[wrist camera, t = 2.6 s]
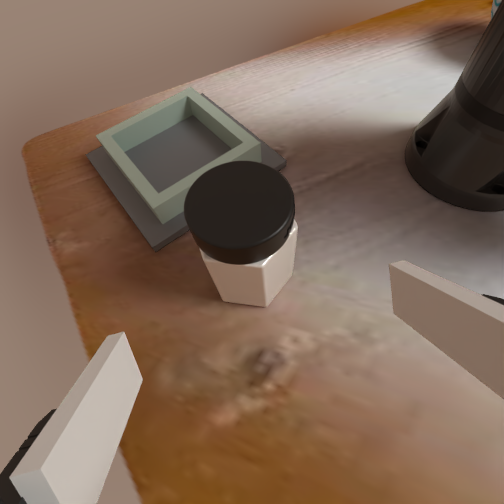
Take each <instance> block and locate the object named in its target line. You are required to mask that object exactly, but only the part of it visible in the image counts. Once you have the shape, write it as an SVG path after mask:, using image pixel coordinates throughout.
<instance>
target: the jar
mask: <svg viewBox="0 0 504 504" xmlns="http://www.w3.org/2000/svg"><path fill="white" fill-rule="evenodd" d="M294 215H295V204H294V194H293V191H292V188H291V186H290V184H289V182H288V181H287V179H286V178H285V177H284V176H283V175H282V174H281V173H280V172H278V171H277V170H275V169H274V168H272V167H270V166H268V165H266V164H263V163H259V162H254V161H232V162H227V163H223V164H220V165H218V166H215V167H213V168H211V169H209V170H208V171H206V172H205V173H203V174H202V175H201V176H200V177H199V178H197V179H196V181H195V182H194V183H193V184H192V185H191V187H190V189H189V190H188V192H187V195H186V197H185V201H184V216H185V220H186V223H187V225H188V227H189V229H190V231H191V233H192V235H193V238H194V240H195V242H196V243H197V245H198V246H199V249H200V252H201V255H202V258H203V261H204V263H205V265H206V267H207V269H208V271H209V273H210V275H211V277H212V279H213V282H214V284H215V286H216V288H217V290H218V292H219V294H220V296H221V298H222V300H223V301H224V302H231V303H239V304H246V305H254V306H261V307H267V306H268V305H269V304H270V303H271V301H272V300H273V299H274V298H275V296H276V295H277V294H278V293H279V291H280V290H281V289H282V288H283V286H284V285H285V284H286V283H287V281H288V280H289V279H290V278H291V277H292V275H293V268H294V259H295V250H296V241H297V233H298V225H297V223H296V221H295V219H294Z"/></svg>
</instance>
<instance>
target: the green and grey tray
mask: <svg viewBox="0 0 504 504" xmlns="http://www.w3.org/2000/svg"><path fill="white" fill-rule="evenodd" d="M96 137H97V139H98V140H99V142H100V143H101V145H102V146H101V147H99V148H97V149H95V150H93V151H91V152H90V153H88V154H86V156H87V157H88V159H89V160H90V162H91V163H92V164H93V166H94V167H95V169H96V170H97V171H98V173H99V174H100V176H101V177H102V178H103V180H104V181H105V183H106V184H107V185H108V187H109V188H110V190H111V191H112V192H113V194H114V195H115V197H116V198H117V199H118V201H119V202H120V203H121V205H122V206H123V208H124V209H125V210H126V212H127V213H128V215H129V216H130V217H131V219H132V220H133V222H134V223H135V224H136V226H137V227H138V229H139V230H140V231H141V233H142V234H143V236H144V237H145V238H146V240H147V241H148V243H149V244H150V245H151V247H152V248H153V249H154V251H155V252H156V251H158V250H159V249H161V248H162V247H164V246H165V245H167V244H168V243H170V242H172V241H173V240H175V239H176V238H178V237H179V236H181V235H182V234H184V233H185V232H187V231H188V230H190V229H189V227H188V225H187V223H186V220H185V216H184V201H185V197H186V195H187V192H188V190H189V189H190V187H191V185H192V184H193V183H194V182H195V181H196V179H197V178H199V177H200V176H201V175H202V174H203V173H205V172H206V171H208V170H209V169H211V168H213V167H215V166H218V165H220V164H223V163H227V162H232V161H254V162H259V163H263V164H266V165H268V166H270V167H272V168H274V169H275V170H277V171H279V170H281V169H282V168H284V167H285V166H286V160H285V159H284V158H283V157H282V156H280V155H279V154H278V153H277V152H275V151H274V150H273V149H272V148H270V147H269V146H268V145H267V144H265V143H264V142H263V141H262V140H260V139H259V138H258V137H257V136H255V135H254V134H253V133H252V132H250V131H249V130H248V129H247V128H245V127H244V126H243V125H242V124H240V123H239V122H238V121H237V120H235V119H234V118H233V117H232V116H230V115H229V114H228V113H226V112H225V111H224V110H223V109H221V108H220V107H219V106H218V105H216V104H215V103H214V102H213V101H211V100H210V99H209V98H208V97H206V96H205V95H204V94H203V93H202V94H199V93H198V92H197V91H195V90H194V89H193V88H192V87H189V88H187V89H186V90H184V91H182V92H180V93H178V94H176V95H174V96H172V97H170V98H168V99H166V100H164V101H162V102H160V103H158V104H156V105H154V106H152V107H150V108H149V109H147V110H145V111H143V112H141V113H139V114H137V115H135V116H133V117H131V118H129V119H127V120H125V121H123V122H121V123H119V124H117V125H115V126H113V127H111V128H110V129H108V130H106V131H104V132H102V133H100V134H98V135H96Z"/></svg>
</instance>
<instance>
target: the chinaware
mask: <svg viewBox="0 0 504 504" xmlns="http://www.w3.org/2000/svg"><path fill="white" fill-rule="evenodd" d="M501 1H502V0H493V5H492V11H491V19H492V18H493V16H494V14H495V12H496V10H497V8H498V7H499V5H500V3H501Z"/></svg>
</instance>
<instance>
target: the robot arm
mask: <svg viewBox="0 0 504 504" xmlns="http://www.w3.org/2000/svg"><path fill="white" fill-rule="evenodd" d="M405 160H406V164H407V167H408V169H409V171H410V173H411V175H412V176H413V177H414V179H415V180H416V181H417V182H418V183H419V184H420V185H421V186H422V187H423V188H424V189H426V190H427V191H428V192H430V193H431V194H433V195H434V196H436V197H438V198H440V199H442V200H444V201H446V202H448V203H451V204H454V205H456V206H460V207H463V208H468V209H473V210H481V211H499V210H504V0H502V1H501V3H500V5H499V7H498V8H497V10H496V12H495V14H494V16H493V18H492V19H491V21H490V23H489V25H488V27H487V29H486V31H485V32H484V34H483V36H482V38H481V40H480V41H479V43H478V45H477V47H476V49H475V50H474V52H473V54H472V56H471V58H470V59H469V61H468V63H467V65H466V66H465V68H464V70H463V72H462V74H461V76H460V78H459V80H458V81H457V83H456V85H455V87H454V88H453V89H452V90H451V91H450V92H449V94H448V95H447V96H446V97H445V98H444V99H443V100H442V101H441V102H440V103H439V104H438V105H437V106H436V107H435V108H434V109H433V110H432V111H431V112H430V113H429V114H428V115H427V116H426V117H425V118H424V119H423V120H422V121H421V122H420V123H419V124H418V126H417V127H416V128H415V130H414V132H413V134H412V136H411V138H410V140H409V142H408V144H407V146H406V150H405ZM389 270H390V280H391V291H392V301H393V311H394V314H395V315H397V316H398V317H399V318H400V319H402V320H403V321H404V322H406V323H407V324H408V325H409V326H411V327H412V328H413V329H414V330H416V331H417V332H418V333H420V334H421V335H422V336H423V337H425V338H426V339H427V340H429V341H430V342H431V343H432V344H434V345H435V346H436V347H438V348H439V349H440V350H441V351H443V352H444V353H445V354H447V355H448V356H449V357H450V358H452V359H453V360H454V361H456V362H457V363H458V364H459V365H461V366H462V367H463V368H464V369H466V370H467V371H468V372H470V373H471V374H472V375H473V376H475V377H476V378H477V379H479V380H480V381H481V382H482V383H484V384H485V385H486V386H488V387H489V388H490V389H491V390H493V391H494V392H495V393H497V394H498V395H499V396H500V397H502V398H503V399H504V299H501V298H497V297H493V296H489V295H485V294H483V295H480V294H478V293H475V292H473V291H471V290H469V289H466V288H464V287H462V286H460V285H458V284H455V283H453V282H451V281H449V280H447V279H444V278H442V277H440V276H438V275H435V274H433V273H431V272H429V271H427V270H424V269H422V268H420V267H418V266H416V265H413V264H411V263H409V262H407V261H404V260H402V261H398V262H394V263H390V264H389ZM142 381H143V379H142V376H141V374H140V371H139V369H138V366H137V363H136V361H135V358H134V356H133V353H132V351H131V348H130V345H129V343H128V340H127V338H126V335H125V333H124V332H120V333H116V334H112V335H108V336H107V338H106V339H105V340H104V342H103V343H102V345H101V346H100V348H99V349H98V351H97V352H96V353H95V355H94V356H93V358H92V359H91V361H90V362H89V363H88V365H87V366H86V368H85V369H84V371H83V372H82V374H81V375H80V376H79V378H78V379H77V381H76V382H75V384H74V385H73V386H72V388H71V389H70V391H69V392H68V394H67V395H66V397H65V398H64V400H63V401H62V402H61V404H60V405H59V407H58V408H57V409H54V410H51V411H50V412H49V413H48V414H47V415H46V416H45V417H44V418H43V419H42V420H41V421H40V422H38V424H37V425H36V426H35V428H34V429H33V430H32V432H31V433H30V435H29V436H28V439H27V440H25V441H24V443H23V444H22V445H21V447H20V448H19V451H17V452H16V453H15V455H14V456H13V458H12V459H11V460H10V462H9V463H8V464H7V466H6V467H5V468H4V470H3V471H2V473H1V474H0V504H97V502H98V499H99V496H100V493H101V491H102V488H103V485H104V482H105V480H106V477H107V474H108V472H109V469H110V466H111V464H112V461H113V458H114V456H115V453H116V451H117V448H118V445H119V442H120V440H121V437H122V434H123V432H124V429H125V426H126V424H127V421H128V418H129V416H130V413H131V410H132V408H133V405H134V402H135V399H136V397H137V394H138V391H139V389H140V386H141V383H142Z"/></svg>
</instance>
